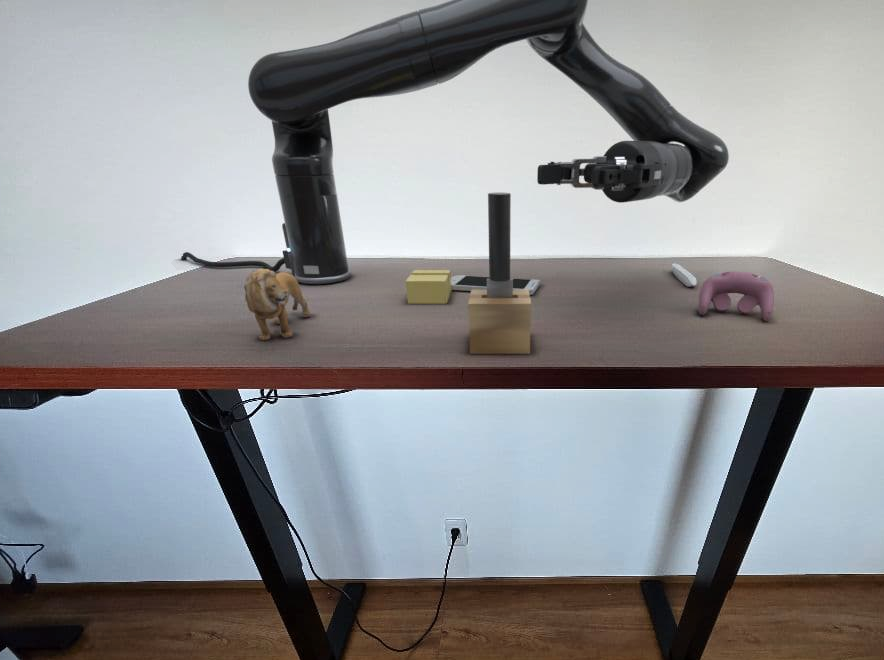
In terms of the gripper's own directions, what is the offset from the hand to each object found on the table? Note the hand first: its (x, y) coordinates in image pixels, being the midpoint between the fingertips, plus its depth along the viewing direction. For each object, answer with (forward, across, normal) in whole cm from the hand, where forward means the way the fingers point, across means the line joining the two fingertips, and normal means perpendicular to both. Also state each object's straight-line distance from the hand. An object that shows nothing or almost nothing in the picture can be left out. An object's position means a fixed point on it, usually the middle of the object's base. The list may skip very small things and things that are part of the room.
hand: (566, 176), depth 57 cm
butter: (+4, -24, +18) cm, 30 cm away
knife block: (+11, 0, +18) cm, 21 cm away
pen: (-36, 0, +19) cm, 40 cm away
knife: (+11, 0, +18) cm, 21 cm away
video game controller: (-21, +15, +19) cm, 32 cm away
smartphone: (-7, -20, +18) cm, 28 cm away
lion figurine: (+27, -24, +18) cm, 41 cm away
